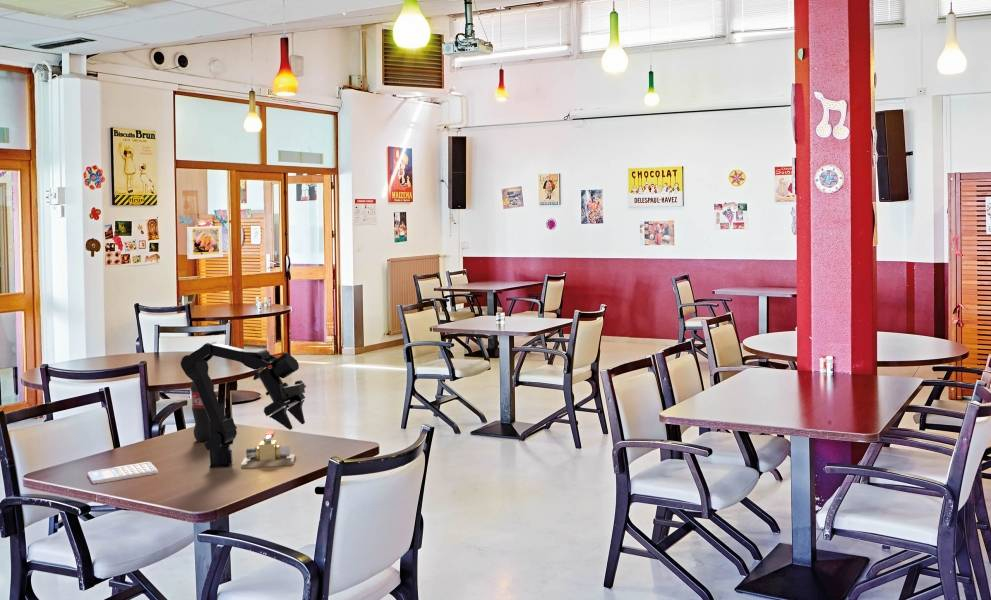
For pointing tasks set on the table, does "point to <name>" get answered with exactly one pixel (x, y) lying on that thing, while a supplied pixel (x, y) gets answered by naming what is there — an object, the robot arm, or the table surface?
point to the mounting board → (268, 462)
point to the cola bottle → (200, 415)
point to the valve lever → (269, 436)
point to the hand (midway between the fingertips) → (297, 426)
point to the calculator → (122, 472)
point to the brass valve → (268, 452)
